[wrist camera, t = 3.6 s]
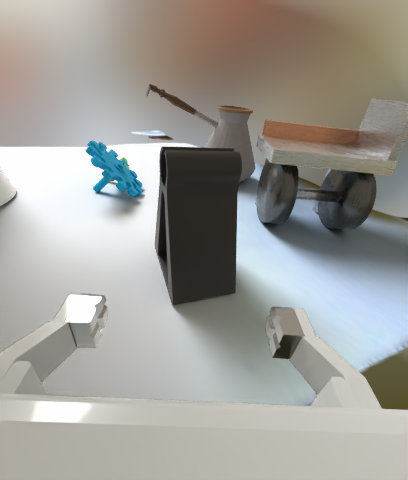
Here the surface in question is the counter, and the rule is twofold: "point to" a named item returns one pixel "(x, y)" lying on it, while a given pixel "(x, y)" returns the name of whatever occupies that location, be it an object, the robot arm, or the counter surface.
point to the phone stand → (198, 221)
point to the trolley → (330, 164)
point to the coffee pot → (224, 130)
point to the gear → (113, 169)
